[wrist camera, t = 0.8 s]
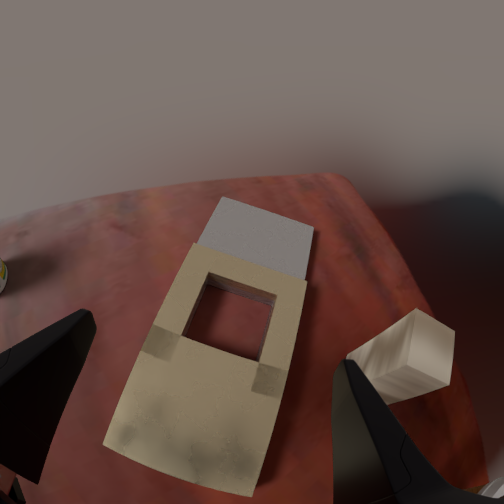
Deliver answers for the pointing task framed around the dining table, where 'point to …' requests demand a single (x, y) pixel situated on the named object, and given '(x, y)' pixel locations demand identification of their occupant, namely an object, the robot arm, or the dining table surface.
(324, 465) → the dining table surface
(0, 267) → the supplement bottle
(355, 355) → the maple pin
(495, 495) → the disposable coffee cup
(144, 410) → the plate with square hole
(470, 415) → the dining table surface
